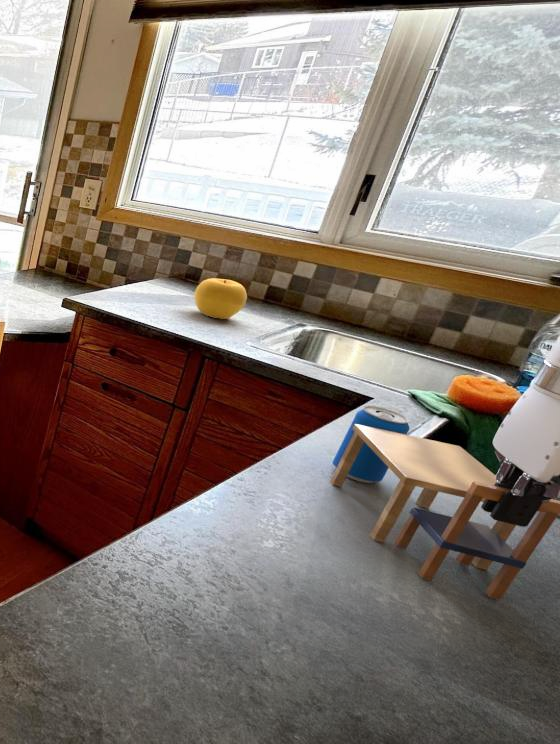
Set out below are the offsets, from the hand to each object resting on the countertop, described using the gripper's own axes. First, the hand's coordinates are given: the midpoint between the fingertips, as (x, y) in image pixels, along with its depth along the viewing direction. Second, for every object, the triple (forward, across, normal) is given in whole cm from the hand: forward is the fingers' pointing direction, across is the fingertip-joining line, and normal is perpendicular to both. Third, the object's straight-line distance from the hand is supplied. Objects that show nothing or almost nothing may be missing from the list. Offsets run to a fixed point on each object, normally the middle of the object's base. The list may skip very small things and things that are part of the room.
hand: (503, 517), depth 76 cm
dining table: (+12, +15, 0) cm, 19 cm away
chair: (+12, +4, 0) cm, 12 cm away
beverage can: (+12, +29, +1) cm, 31 cm away
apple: (+12, +122, +4) cm, 122 cm away
